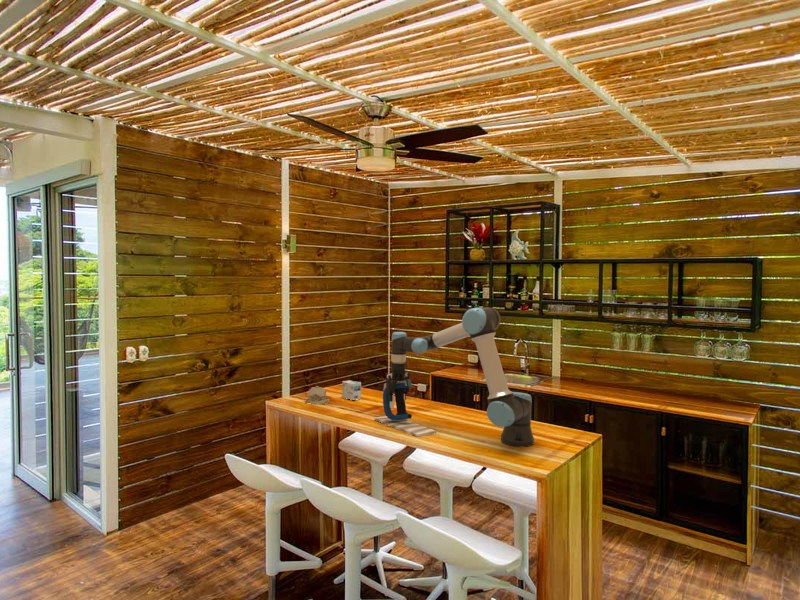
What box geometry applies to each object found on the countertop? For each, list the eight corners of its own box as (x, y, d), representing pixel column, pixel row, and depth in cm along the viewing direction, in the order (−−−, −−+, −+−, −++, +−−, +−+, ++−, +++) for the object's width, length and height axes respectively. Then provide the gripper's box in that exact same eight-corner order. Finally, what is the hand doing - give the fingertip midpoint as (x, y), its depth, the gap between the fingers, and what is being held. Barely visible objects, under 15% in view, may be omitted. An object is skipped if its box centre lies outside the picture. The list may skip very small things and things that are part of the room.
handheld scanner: (412, 417, 268) (408, 378, 273) (384, 421, 274) (380, 383, 280) (416, 417, 272) (412, 379, 277) (388, 421, 278) (385, 383, 284)
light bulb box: (361, 399, 330) (361, 382, 330) (353, 401, 325) (353, 383, 324) (349, 396, 337) (349, 379, 337) (341, 398, 332) (341, 381, 332)
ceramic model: (303, 404, 315) (303, 387, 314) (307, 400, 326) (308, 383, 326) (326, 405, 314) (327, 388, 314) (330, 400, 325) (330, 384, 325)
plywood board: (436, 433, 261) (436, 430, 260) (416, 437, 253) (417, 434, 253) (392, 417, 289) (392, 414, 289) (374, 420, 282) (374, 417, 282)
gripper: (408, 360, 284) (407, 403, 284) (378, 362, 272) (377, 407, 273) (417, 361, 278) (416, 406, 278) (387, 364, 266) (386, 410, 267)
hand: (397, 406), depth 276 cm, fingers open, 6 cm apart
